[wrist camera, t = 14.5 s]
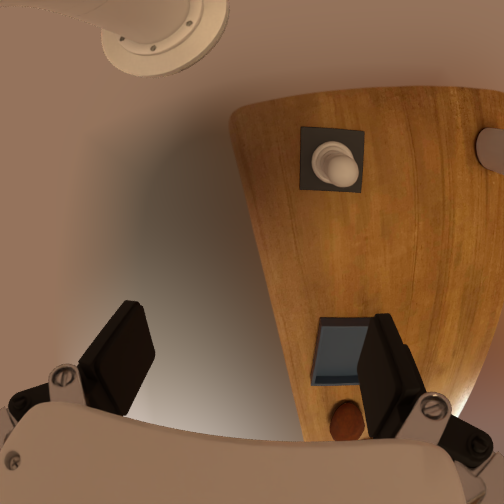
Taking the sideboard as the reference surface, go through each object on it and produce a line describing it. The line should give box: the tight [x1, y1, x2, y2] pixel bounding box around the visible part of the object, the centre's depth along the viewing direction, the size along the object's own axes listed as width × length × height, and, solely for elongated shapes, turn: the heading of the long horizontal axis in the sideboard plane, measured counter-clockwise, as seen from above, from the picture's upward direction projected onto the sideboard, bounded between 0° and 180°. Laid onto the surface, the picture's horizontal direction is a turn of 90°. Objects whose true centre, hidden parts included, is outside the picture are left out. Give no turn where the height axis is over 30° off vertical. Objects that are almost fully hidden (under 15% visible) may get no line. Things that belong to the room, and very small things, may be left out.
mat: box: [300, 127, 365, 193], centre depth 34 cm, size 8×8×1 cm
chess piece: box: [312, 141, 359, 187], centre depth 30 cm, size 5×5×9 cm
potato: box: [330, 403, 365, 441], centre depth 51 cm, size 8×12×8 cm, turn 11°
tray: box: [310, 317, 371, 386], centre depth 46 cm, size 14×11×2 cm
